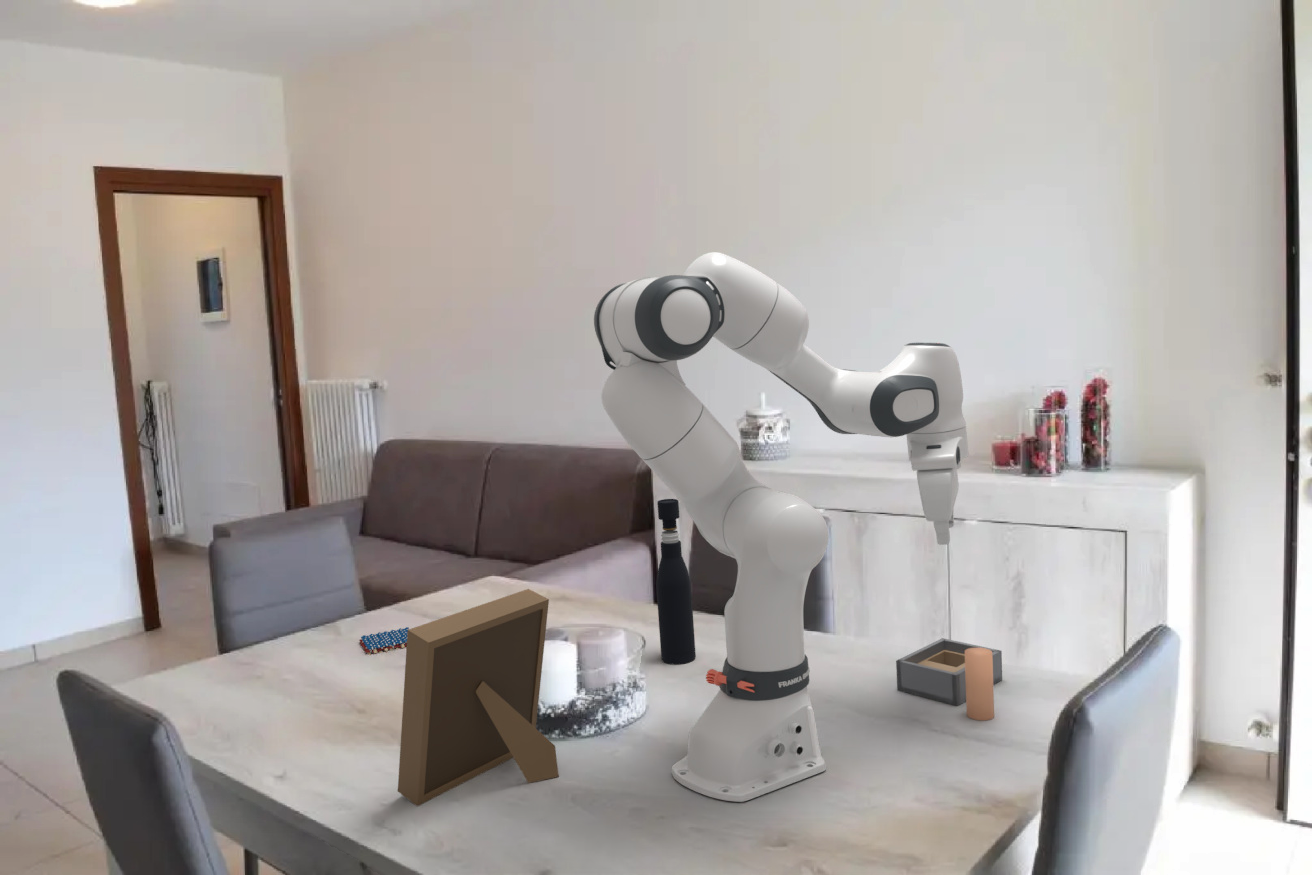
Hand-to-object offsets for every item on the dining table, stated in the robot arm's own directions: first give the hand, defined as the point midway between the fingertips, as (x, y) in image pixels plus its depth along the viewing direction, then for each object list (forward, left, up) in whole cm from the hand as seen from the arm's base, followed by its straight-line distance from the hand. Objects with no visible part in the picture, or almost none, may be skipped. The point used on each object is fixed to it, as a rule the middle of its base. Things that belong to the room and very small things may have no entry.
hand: (946, 534), depth 155 cm
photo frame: (-62, +35, -27) cm, 77 cm away
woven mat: (-41, +106, -28) cm, 118 cm away
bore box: (+7, +4, -27) cm, 28 cm away
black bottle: (-11, +50, -27) cm, 58 cm away
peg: (-1, -6, -27) cm, 28 cm away
